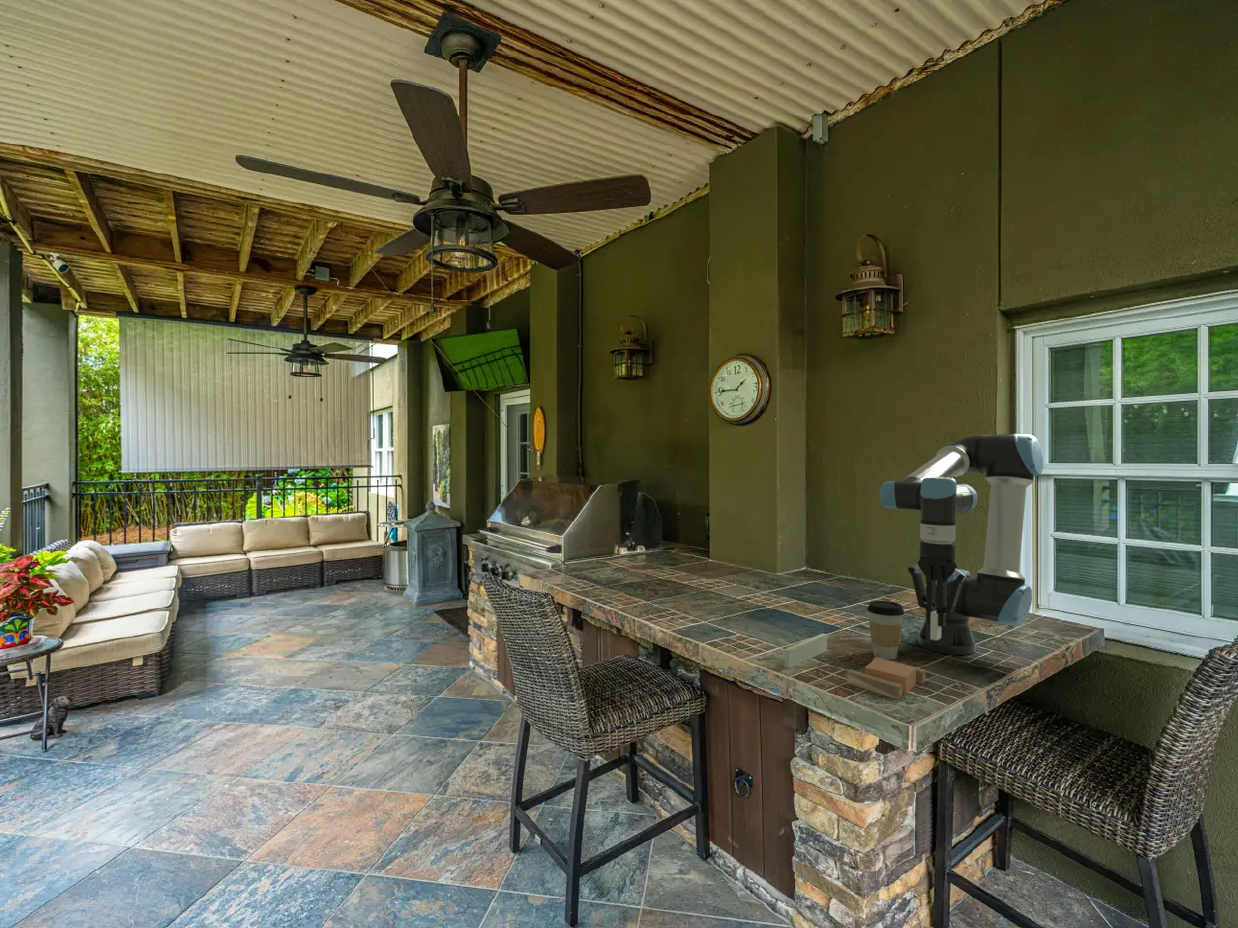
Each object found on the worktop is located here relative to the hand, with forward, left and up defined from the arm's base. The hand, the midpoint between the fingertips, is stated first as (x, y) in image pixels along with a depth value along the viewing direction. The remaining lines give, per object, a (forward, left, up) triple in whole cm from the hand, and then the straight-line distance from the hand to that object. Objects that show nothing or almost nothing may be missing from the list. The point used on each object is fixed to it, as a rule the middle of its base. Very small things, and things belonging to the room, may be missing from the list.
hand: (935, 638), depth 145 cm
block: (0, -11, -15) cm, 18 cm away
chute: (0, -12, -15) cm, 19 cm away
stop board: (0, -35, -15) cm, 38 cm away
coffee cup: (-19, -21, -15) cm, 32 cm away
